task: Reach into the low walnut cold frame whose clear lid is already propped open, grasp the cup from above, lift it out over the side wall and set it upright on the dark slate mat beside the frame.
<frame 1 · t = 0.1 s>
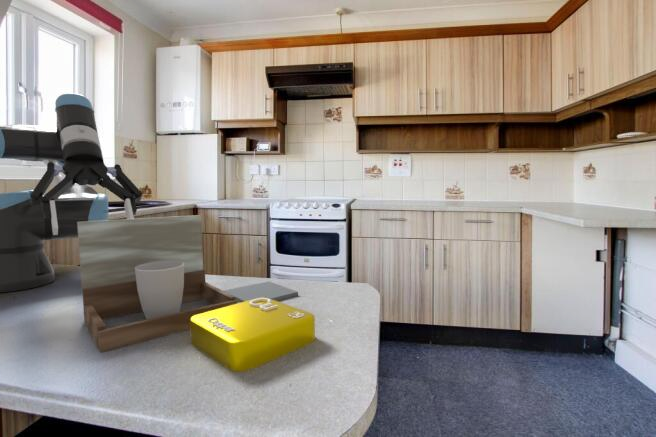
hand: (96, 228, 75), 15 cm above the countertop, tool tilted 35°, fingers open, 13 cm apart
cup: (162, 320, 66), resting in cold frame
element tile: (253, 343, 57), on the countertop
slate mat: (260, 294, 80), on the countertop
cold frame: (162, 319, 66), on the countertop
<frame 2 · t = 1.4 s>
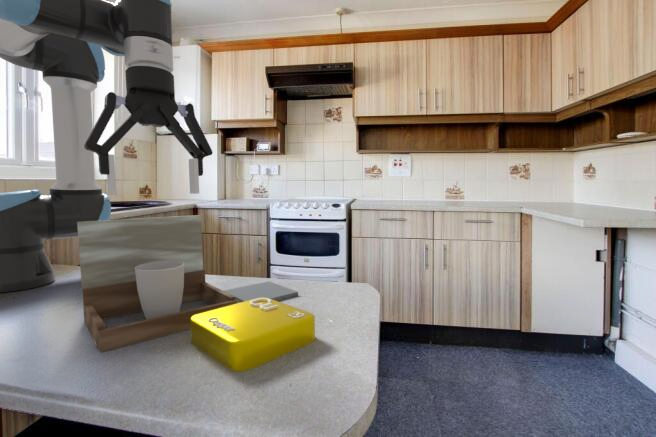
hand: (156, 194, 64), 23 cm above the countertop, tool pointing down, fingers open, 13 cm apart
nothing on the countertop moved.
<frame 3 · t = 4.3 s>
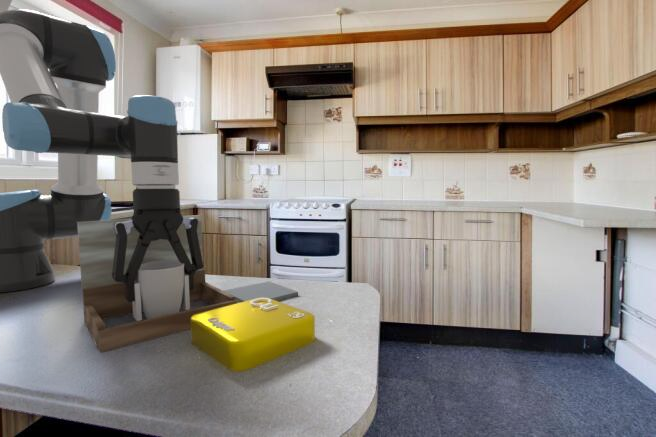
hand: (162, 312, 66), 1 cm above the countertop, tool pointing down, fingers closed on cup, 8 cm apart
cup: (162, 320, 66), resting in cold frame, touching gripper
everything else where it was.
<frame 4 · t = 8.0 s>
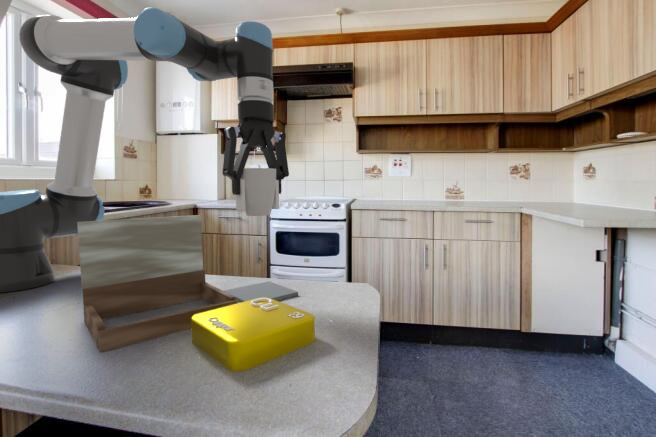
hand: (258, 209, 79), 19 cm above the countertop, tool pointing down, fingers closed on cup, 8 cm apart
cup: (258, 215, 79), point 18 cm above the countertop, touching gripper
everything else where it was.
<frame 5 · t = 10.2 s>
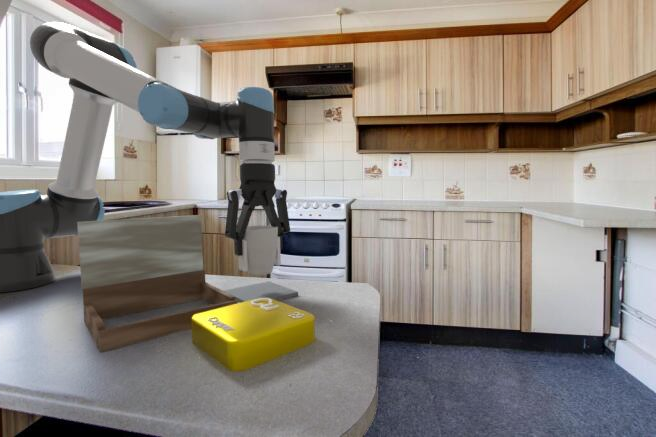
hand: (260, 267, 80), 6 cm above the countertop, tool pointing down, fingers closed on cup, 8 cm apart
cup: (260, 273, 80), point 5 cm above the countertop, touching gripper
everything else where it was.
when the fingers open (3 cm above the countertop, at t = 11.9 s): cup stays where it is, resting on slate mat.
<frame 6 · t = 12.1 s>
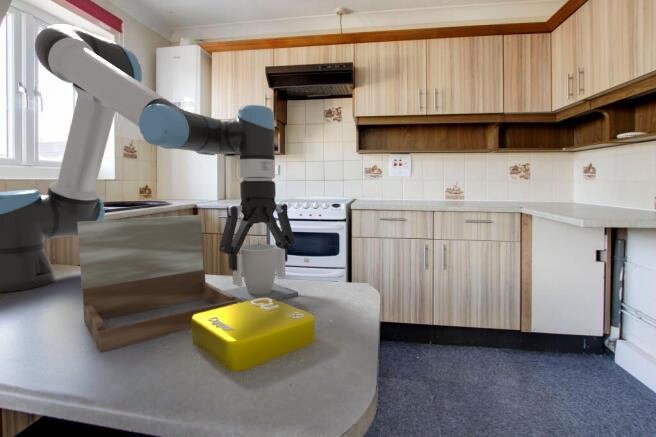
hand: (260, 280, 80), 3 cm above the countertop, tool pointing down, fingers open, 10 cm apart
cup: (259, 292, 80), point 1 cm above the countertop, touching slate mat
everything else where it was.
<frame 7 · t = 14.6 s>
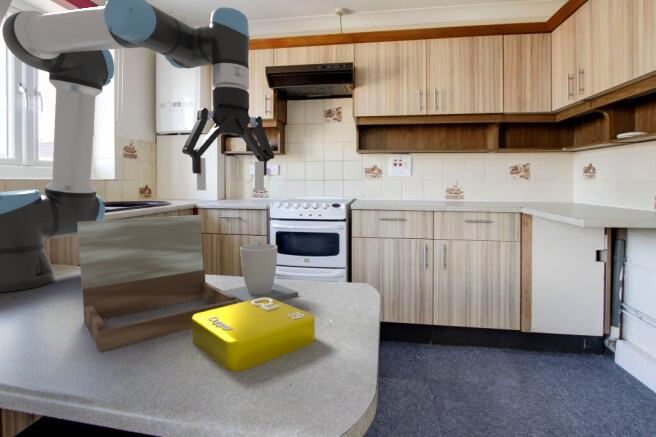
hand: (232, 190, 78), 23 cm above the countertop, tool pointing down, fingers open, 13 cm apart
nothing on the countertop moved.
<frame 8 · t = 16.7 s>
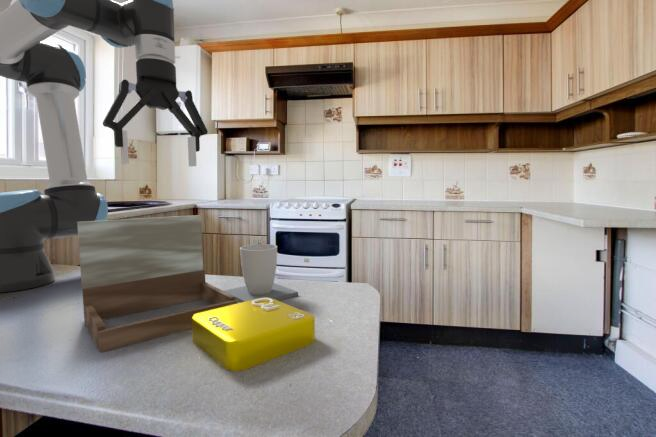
hand: (160, 165, 77), 29 cm above the countertop, tool pointing down, fingers open, 13 cm apart
nothing on the countertop moved.
at the end: cup inside the target area (0.2 cm from its centre), point 0.6 cm above the countertop; cup tilted 0°; the gripper is holding nothing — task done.
